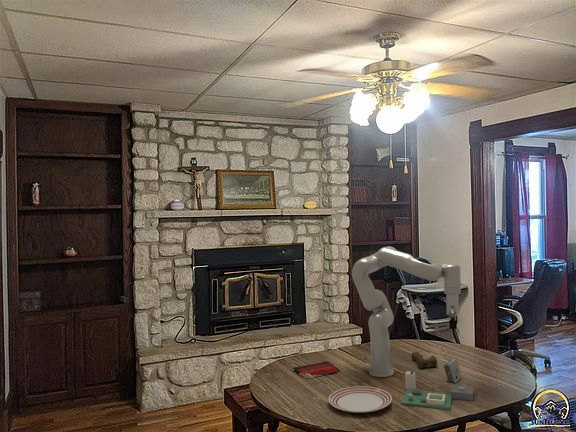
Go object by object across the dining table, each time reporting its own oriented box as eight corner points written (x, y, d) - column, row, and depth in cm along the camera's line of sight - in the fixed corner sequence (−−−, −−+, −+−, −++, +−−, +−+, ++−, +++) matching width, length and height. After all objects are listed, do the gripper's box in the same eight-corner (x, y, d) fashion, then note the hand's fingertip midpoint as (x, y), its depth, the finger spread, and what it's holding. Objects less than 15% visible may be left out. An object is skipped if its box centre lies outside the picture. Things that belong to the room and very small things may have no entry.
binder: (293, 367, 262) (327, 360, 270) (293, 371, 262) (327, 364, 270) (305, 377, 247) (342, 370, 256) (306, 381, 247) (342, 374, 256)
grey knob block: (450, 398, 215) (450, 390, 215) (452, 391, 223) (451, 383, 223) (472, 400, 211) (472, 392, 211) (473, 393, 220) (473, 385, 220)
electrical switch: (455, 383, 233) (452, 363, 233) (445, 382, 236) (442, 363, 236) (462, 377, 240) (459, 358, 240) (452, 376, 243) (449, 358, 244)
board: (401, 404, 211) (400, 396, 211) (406, 391, 226) (406, 384, 225) (450, 410, 203) (449, 401, 203) (452, 395, 218) (452, 388, 218)
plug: (405, 388, 229) (405, 372, 229) (407, 385, 232) (406, 369, 232) (414, 389, 227) (413, 373, 227) (415, 386, 231) (414, 370, 231)
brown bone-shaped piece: (423, 360, 271) (441, 370, 252) (407, 362, 269) (424, 373, 250) (422, 349, 271) (440, 358, 252) (406, 351, 269) (423, 361, 250)
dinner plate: (349, 423, 195) (348, 415, 195) (317, 400, 221) (317, 393, 220) (405, 409, 206) (405, 401, 206) (369, 388, 231) (369, 381, 231)
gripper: (445, 287, 241) (446, 321, 242) (443, 293, 225) (444, 330, 226) (461, 287, 239) (462, 322, 239) (460, 293, 223) (461, 331, 223)
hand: (453, 326), depth 232 cm, fingers open, 9 cm apart
